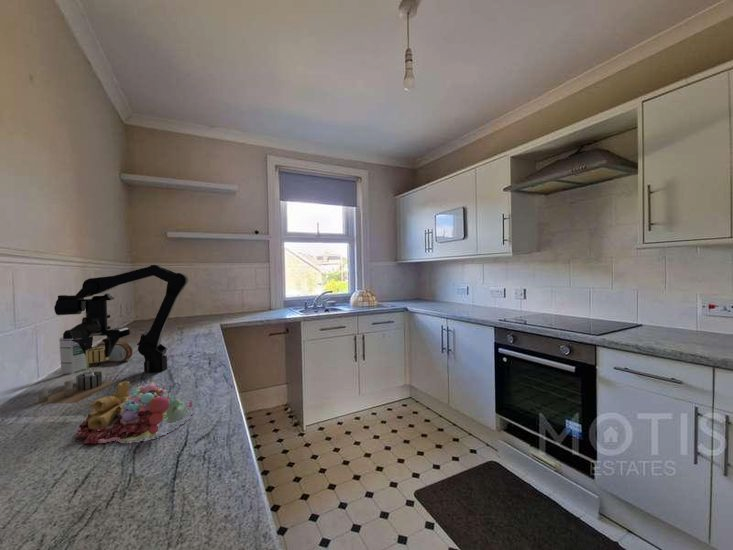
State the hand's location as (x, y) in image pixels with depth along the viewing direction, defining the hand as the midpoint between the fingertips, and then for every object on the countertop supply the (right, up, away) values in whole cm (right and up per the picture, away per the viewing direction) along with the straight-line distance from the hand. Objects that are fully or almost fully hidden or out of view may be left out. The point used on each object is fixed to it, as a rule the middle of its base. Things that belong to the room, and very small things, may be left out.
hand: (97, 357), depth 110 cm
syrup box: (-15, -9, +8) cm, 19 cm away
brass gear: (0, -1, 0) cm, 1 cm away
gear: (+5, -7, -8) cm, 12 cm away
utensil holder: (-19, -8, +17) cm, 27 cm away
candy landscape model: (+36, -10, -28) cm, 47 cm away
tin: (-13, -8, +23) cm, 28 cm away
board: (+5, -9, -12) cm, 16 cm away
